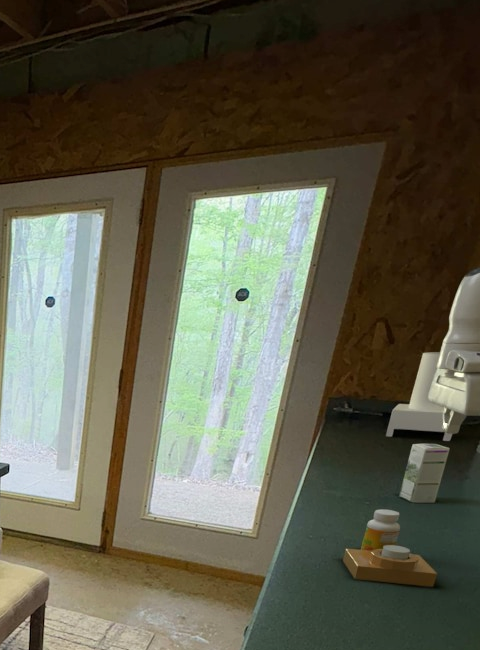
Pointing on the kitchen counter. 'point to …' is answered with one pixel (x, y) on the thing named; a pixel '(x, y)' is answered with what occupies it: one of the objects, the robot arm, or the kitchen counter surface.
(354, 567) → the button base
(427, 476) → the syrup box
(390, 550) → the grey button cap
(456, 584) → the kitchen counter surface
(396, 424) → the white toy chair
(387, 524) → the supplement bottle
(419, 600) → the kitchen counter surface
